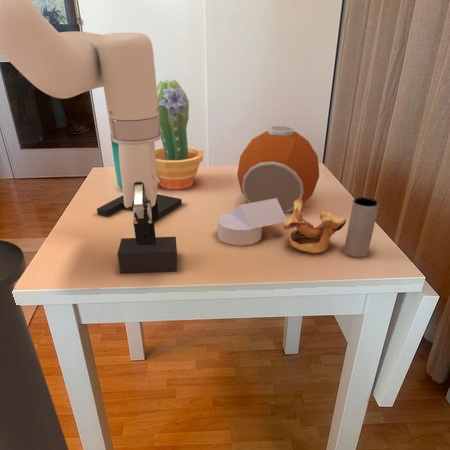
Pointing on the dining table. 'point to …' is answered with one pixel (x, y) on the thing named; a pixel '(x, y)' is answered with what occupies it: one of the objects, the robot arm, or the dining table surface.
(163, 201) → the base pad
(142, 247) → the black rectangular block
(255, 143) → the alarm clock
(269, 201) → the wedge on round base
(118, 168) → the beverage can
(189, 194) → the dining table surface
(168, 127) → the potted cactus
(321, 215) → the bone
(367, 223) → the grey cylinder
